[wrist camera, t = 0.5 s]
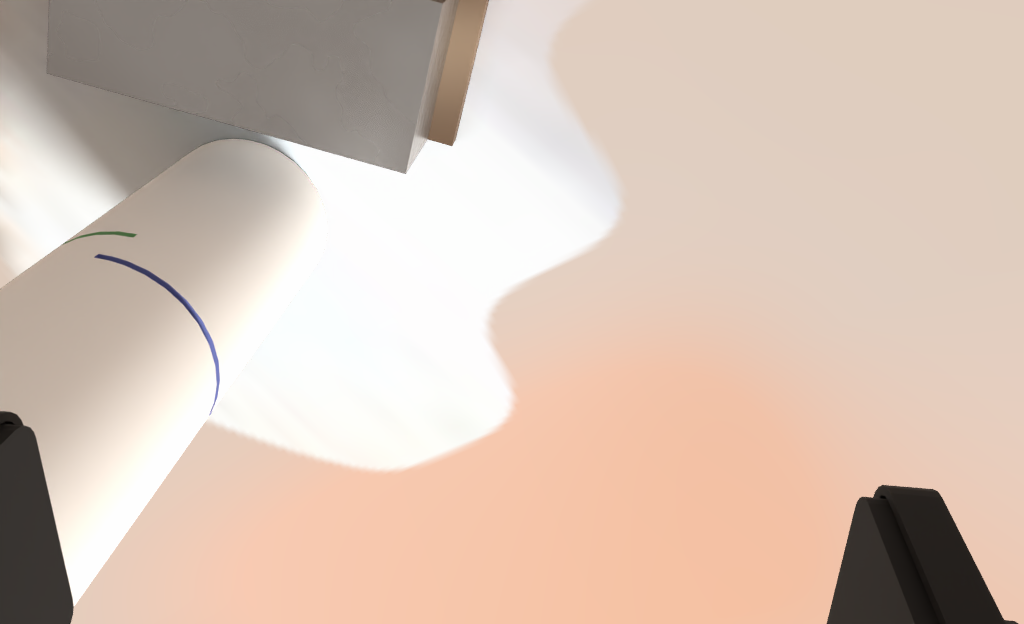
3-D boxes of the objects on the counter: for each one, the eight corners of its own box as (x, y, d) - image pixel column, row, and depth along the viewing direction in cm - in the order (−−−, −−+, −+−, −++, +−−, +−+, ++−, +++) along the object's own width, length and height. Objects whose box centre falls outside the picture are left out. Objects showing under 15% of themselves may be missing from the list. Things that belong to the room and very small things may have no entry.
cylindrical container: (303, 316, 43) (-35, 828, 20) (151, 260, 42) (-367, 722, 20) (346, 175, 40) (2, 597, 17) (183, 113, 39) (-392, 464, 17)
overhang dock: (121, -172, 34) (55, -176, 30) (474, -71, 34) (456, -60, 30) (107, 49, 37) (46, 73, 33) (427, 139, 37) (405, 173, 33)
